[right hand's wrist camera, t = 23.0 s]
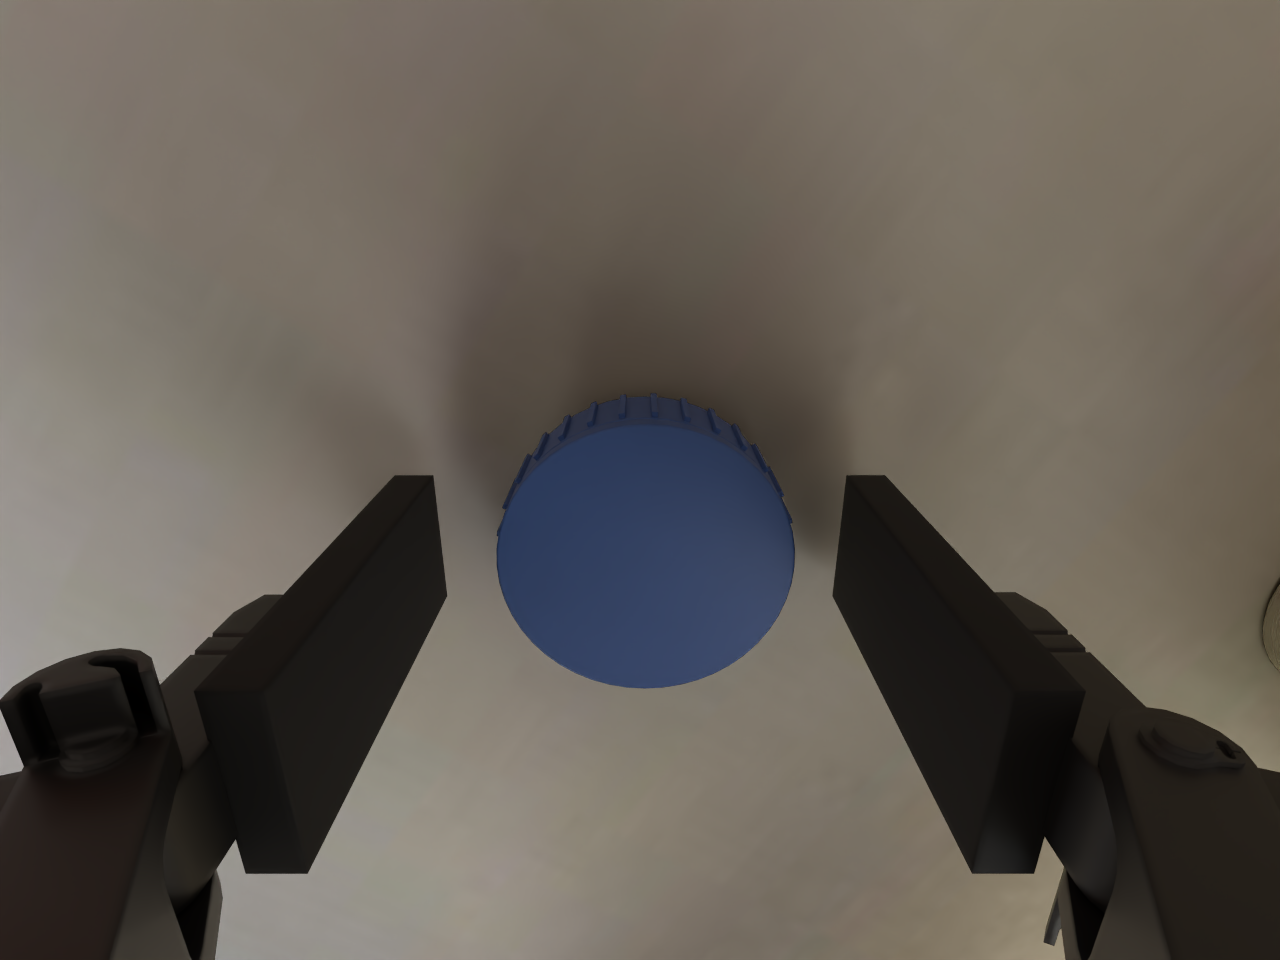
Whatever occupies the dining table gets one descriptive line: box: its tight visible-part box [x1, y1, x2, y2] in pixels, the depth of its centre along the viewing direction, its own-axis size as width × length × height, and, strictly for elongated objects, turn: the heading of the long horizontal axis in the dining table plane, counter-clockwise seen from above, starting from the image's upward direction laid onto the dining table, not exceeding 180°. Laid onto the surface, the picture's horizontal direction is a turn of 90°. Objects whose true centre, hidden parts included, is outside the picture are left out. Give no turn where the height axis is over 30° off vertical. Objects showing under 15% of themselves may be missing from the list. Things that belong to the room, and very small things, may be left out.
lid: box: [497, 393, 795, 688], centre depth 13 cm, size 5×5×2 cm
